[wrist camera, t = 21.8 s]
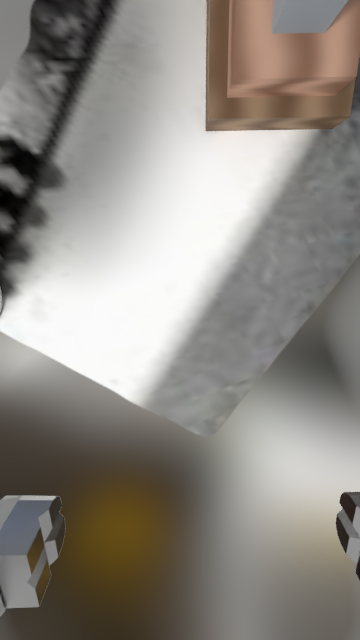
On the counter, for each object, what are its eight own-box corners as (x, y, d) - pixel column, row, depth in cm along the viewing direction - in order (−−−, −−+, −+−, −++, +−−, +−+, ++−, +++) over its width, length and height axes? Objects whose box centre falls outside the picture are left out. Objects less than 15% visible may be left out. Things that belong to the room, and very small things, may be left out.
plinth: (205, 131, 36) (212, 103, 28) (207, -37, 31) (215, -124, 24) (332, 128, 36) (373, 100, 28) (352, -40, 31) (408, -128, 24)
